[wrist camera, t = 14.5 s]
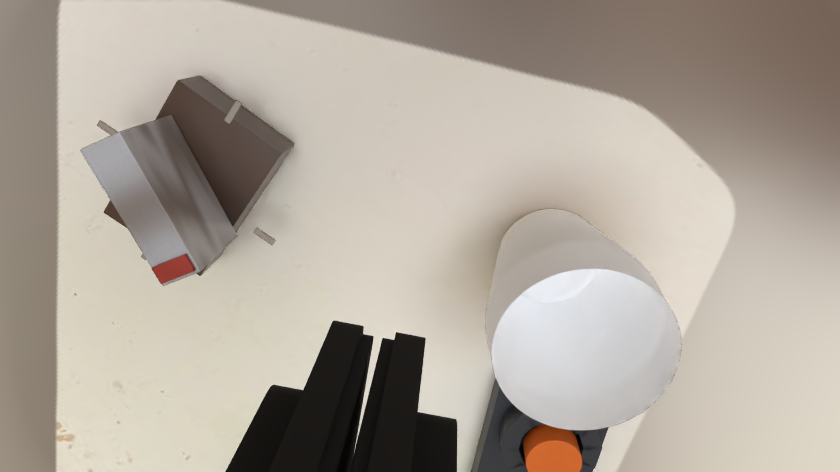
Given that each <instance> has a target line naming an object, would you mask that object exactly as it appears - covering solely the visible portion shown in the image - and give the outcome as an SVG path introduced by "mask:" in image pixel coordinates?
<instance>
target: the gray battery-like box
mask: <svg viewBox="0 0 840 472" xmlns="http://www.w3.org/2000/svg"><path fill="white" fill-rule="evenodd" d="M80 151H81V152H82V154H83V156H84V157H85V159H86V161H87V162H88V164H89V166H90V167H91V169H92V170H93V172H94V174H95V175H96V177H97V179H98V180H99V182H100V184H101V185H102V187H103V188H104V190H105V192H106V193H107V195H108V197H109V198H110V200H111V202H112V203H113V205H114V207H115V208H116V210H117V211H118V213H119V215H120V216H121V218H122V220H123V221H124V223H125V225H126V226H127V228H128V230H129V231H130V233H131V234H132V236H133V238H134V239H135V241H136V243H137V244H138V246H139V248H140V249H141V251H142V253H143V254H144V256H145V257H146V259H147V261H148V262H149V264H150V266H151V267H152V270H153V272H154V273H155V275H156V277H157V278H158V280H159V282H160V283H161V284H162V285H163V286H165V285H167V284H170V283H172V282H175V281H178V280H180V279H183V278H185V277H188V276H191V275H193V274H196V273H198V272H200V271H201V270H202V269H204V268H205V267H206V266H207V265H208V264H209V263H210V262H211V261H212V260H213V259H214V258H215V257H216V256H217V255H218V254H219V253H220V252H221V251H222V250H223V249H224V248H225V247H226V246H227V245H228V244H230V243H231V242H232V241H233V240H234V239H235V238H236V237H237V234H236V232H235V230H234V228H233V226H232V225H231V223H230V221H229V219H228V217H227V215H226V214H225V212H224V210H223V208H222V206H221V204H220V203H219V201H218V199H217V197H216V195H215V193H214V192H213V190H212V188H211V186H210V184H209V183H208V181H207V179H206V177H205V175H204V173H203V172H202V170H201V168H200V166H199V164H198V162H197V161H196V159H195V157H194V155H193V153H192V151H191V150H190V148H189V146H188V144H187V142H186V140H185V139H184V137H183V135H182V133H181V131H180V129H179V128H178V126H177V124H176V122H175V120H174V119H173V117H172V115H169V116H166V117H163V118H160V119H157V120H154V121H151V122H148V123H145V124H142V125H139V126H135V127H132V128H129V129H126V130H123V131H120V132H118V133H115V134H113V135H111V136H109V137H107V138H104V139H102V140H100V141H98V142H96V143H93V144H91V145H89V146H87V147H85V148H82V149H81V150H80Z"/></svg>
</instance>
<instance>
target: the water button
mask: <svg viewBox="0 0 840 472" xmlns="http://www.w3.org/2000/svg"><path fill="white" fill-rule="evenodd" d="M542 424H543V423H541V422H538V421H536V420H534V419H532V418H531V417H529V416H527V415H526V414H524V413H523V412H521V411H520V410H519V409H518V408H517V407H515V406H514V405H513V404H512V403H511V402H510V400H509V399H508V398H507V397H506V396H505V394H504V393H503V391H502V390H501V388H500V386H499V384H498V382H497V380H496V379H495V383H494V387H493V390H492V394H491V398H490V402H489V406H488V409H487V413H486V417H485V421H484V424H483V428H482V432H481V436H480V440H479V443H478V447H477V451H476V455H475V458H474V462H473V466H472V470H471V472H528V470H527V467H526V462H525V455H524V448H523V443H524V439H525V437H526V435H527V434H528V432H529V431H530V430H532V429H533V428H535V427H536V426H539V425H542ZM607 430H608V427H607V428H602V429H595V430H571V431H572V432H573V433H574V435H575V436H576V439H577V442H578V446H579V449H580V453H581V457H582V467H581V470H580V472H593V469H594V468H595V466H596V464H597V461H598V458H599V455H600V453H601V450H602V444H603V441H604V438H605V436H606V433H607Z"/></svg>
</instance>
